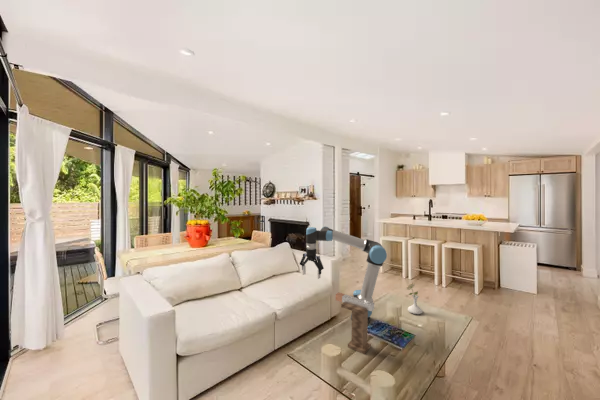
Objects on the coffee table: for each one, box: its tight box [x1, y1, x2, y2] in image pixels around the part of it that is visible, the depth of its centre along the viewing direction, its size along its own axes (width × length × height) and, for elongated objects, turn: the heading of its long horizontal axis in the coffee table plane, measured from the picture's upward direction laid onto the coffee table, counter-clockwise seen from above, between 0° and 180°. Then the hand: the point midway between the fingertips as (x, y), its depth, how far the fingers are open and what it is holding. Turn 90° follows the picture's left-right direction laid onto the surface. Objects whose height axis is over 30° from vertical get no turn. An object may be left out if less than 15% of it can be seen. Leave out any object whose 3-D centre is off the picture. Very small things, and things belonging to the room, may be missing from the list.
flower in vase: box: [406, 282, 423, 315], centre depth 222 cm, size 13×11×25 cm
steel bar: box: [335, 292, 375, 312], centre depth 178 cm, size 26×4×4 cm, turn 52°
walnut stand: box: [340, 302, 372, 355], centre depth 178 cm, size 17×10×28 cm, turn 52°
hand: (311, 276), depth 200 cm, fingers open, 13 cm apart
